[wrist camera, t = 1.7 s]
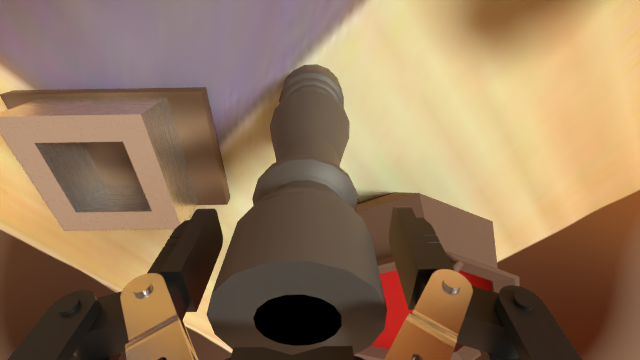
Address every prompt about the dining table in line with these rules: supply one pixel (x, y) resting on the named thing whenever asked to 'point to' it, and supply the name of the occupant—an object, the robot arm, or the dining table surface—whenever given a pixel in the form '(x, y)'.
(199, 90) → the socket board
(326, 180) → the candle holder
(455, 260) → the brown cauldron
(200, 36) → the dining table surface
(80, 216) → the square collar
